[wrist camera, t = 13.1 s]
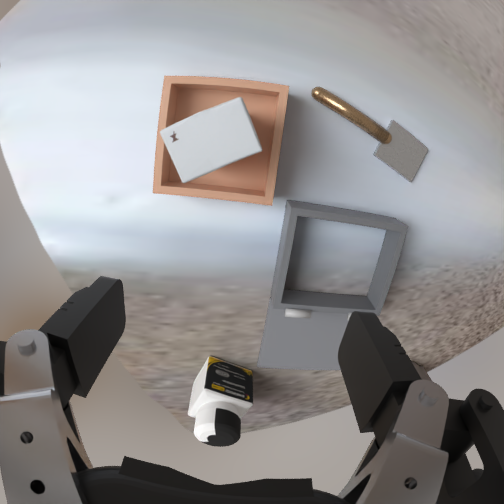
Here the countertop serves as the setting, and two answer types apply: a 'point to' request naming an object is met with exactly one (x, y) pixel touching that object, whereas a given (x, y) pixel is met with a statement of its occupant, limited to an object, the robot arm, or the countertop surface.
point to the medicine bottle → (220, 401)
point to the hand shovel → (381, 136)
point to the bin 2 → (321, 296)
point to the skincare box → (211, 139)
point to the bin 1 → (235, 174)
